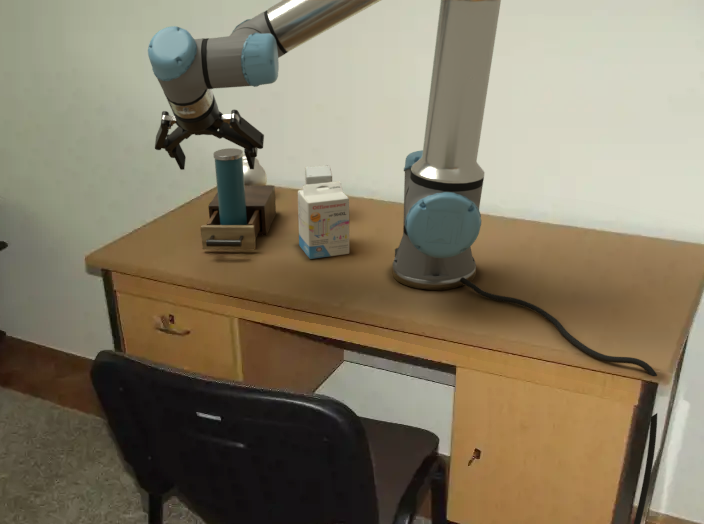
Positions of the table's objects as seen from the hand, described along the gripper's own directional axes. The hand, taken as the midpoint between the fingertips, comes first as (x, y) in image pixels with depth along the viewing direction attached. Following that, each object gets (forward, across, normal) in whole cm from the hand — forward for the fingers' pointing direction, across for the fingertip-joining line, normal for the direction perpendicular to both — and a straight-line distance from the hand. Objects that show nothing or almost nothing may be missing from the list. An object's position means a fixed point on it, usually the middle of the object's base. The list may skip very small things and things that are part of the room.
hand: (217, 163), depth 168 cm
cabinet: (+28, 0, 0) cm, 28 cm away
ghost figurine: (+41, -2, +13) cm, 43 cm away
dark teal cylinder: (+19, 0, -6) cm, 20 cm away
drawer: (+18, 0, -8) cm, 20 cm away
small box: (+31, +16, +3) cm, 35 cm away
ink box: (+18, +20, -10) cm, 28 cm away
